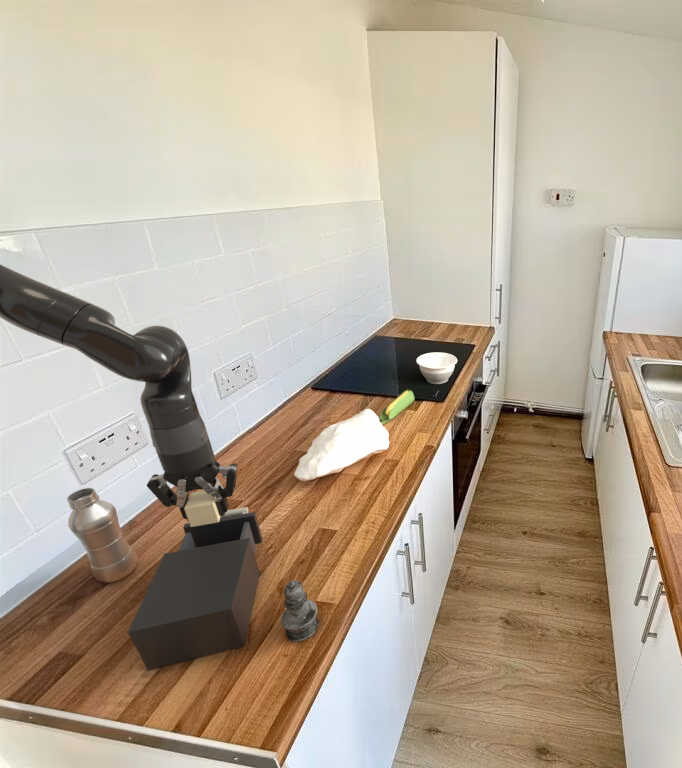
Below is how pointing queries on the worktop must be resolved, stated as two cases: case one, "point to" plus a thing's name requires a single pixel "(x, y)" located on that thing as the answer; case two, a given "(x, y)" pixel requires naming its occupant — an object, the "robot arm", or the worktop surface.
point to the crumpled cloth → (343, 446)
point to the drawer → (224, 530)
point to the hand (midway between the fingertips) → (207, 515)
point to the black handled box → (197, 604)
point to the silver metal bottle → (100, 536)
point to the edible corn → (397, 406)
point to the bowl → (437, 366)
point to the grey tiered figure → (298, 613)
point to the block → (201, 509)
